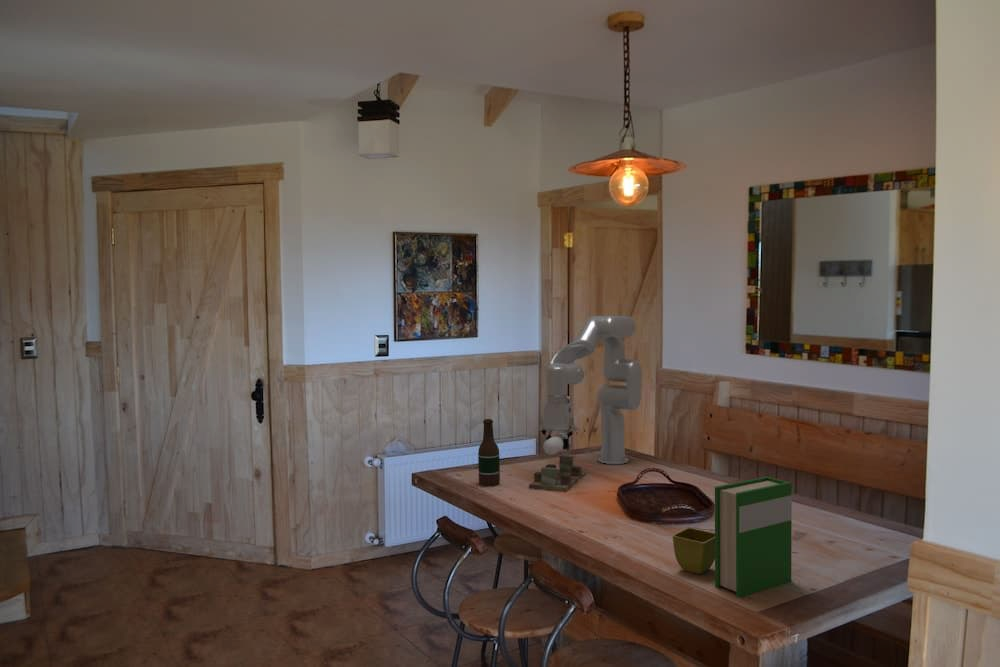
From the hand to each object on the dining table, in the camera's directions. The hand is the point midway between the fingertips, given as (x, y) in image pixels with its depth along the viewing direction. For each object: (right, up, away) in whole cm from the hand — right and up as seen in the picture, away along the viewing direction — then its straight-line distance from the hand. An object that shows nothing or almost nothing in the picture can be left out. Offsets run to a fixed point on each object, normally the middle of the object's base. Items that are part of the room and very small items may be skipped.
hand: (557, 447), depth 280 cm
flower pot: (+28, -17, -89) cm, 95 cm away
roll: (0, -1, 0) cm, 1 cm away
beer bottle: (-25, -13, -1) cm, 28 cm away
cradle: (0, -13, +1) cm, 13 cm away
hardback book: (+39, -18, -99) cm, 108 cm away
